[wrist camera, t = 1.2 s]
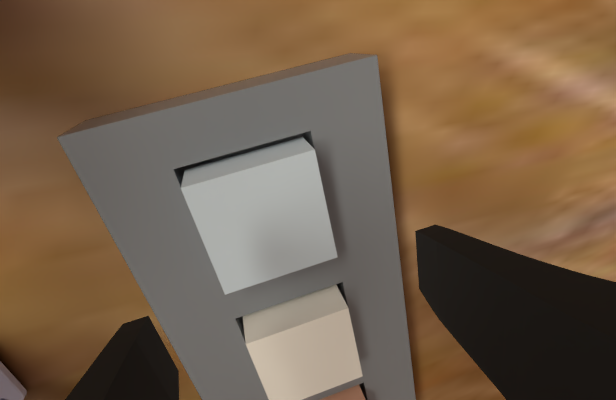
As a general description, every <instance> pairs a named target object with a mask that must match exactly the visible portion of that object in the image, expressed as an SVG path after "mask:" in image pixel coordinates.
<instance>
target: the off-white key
mask: <svg viewBox="0 0 616 400" xmlns="http://www.w3.org/2000/svg"><path fill="white" fill-rule="evenodd" d="M243 325H244V334H245V343H246V346H247V349H248V351H249V354H250V356H251V358H252V361H253V363H254V366H255V368H256V370H257V373H258V375H259V378H260V380H261V382H262V385H263V387H264V390H265V392H266V394H267V397H268V399H269V400H302V399H305V398H308V397H310V396H313V395H315V394H318V393H321V392H323V391H326V390H328V389H331V388H334V387H336V386H339V385H341V384H344V383H347V382H349V381H352V380H354V379H357V378H360V377H362V376H363V375H362V370H361V365H360V361H359V356H358V351H357V347H356V342H355V337H354V332H353V328H352V323H351V318H350V313H349V309H348V306H347V304H346V302H345V300H344V299H343V297H342V295H341V293H340V291H339V289H338V287H337V285H336V284H335V285H332V286H329V287H326V288H324V289H321V290H318V291H315V292H312V293H309V294H306V295H303V296H300V297H297V298H294V299H291V300H289V301H286V302H283V303H280V304H277V305H274V306H271V307H268V308H265V309H262V310H259V311H257V312H254V313H251V314H248V315H245V316H243Z"/></svg>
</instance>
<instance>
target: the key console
mask: <svg viewBox="0 0 616 400" xmlns="http://www.w3.org/2000/svg"><path fill="white" fill-rule="evenodd" d="M301 137H303V138H304V139H305V140H306V141H307V142H308V143H309V144H310V145H311V146H312V147H313V148H314V149H315V153H316V157H317V162H318V167H319V172H320V176H321V181H322V186H323V191H324V195H325V200H326V205H327V209H328V214H329V219H330V224H331V228H332V233H333V238H334V243H335V247H336V252H337V258H334V259H331V260H328V261H325V262H322V263H319V264H316V265H313V266H310V267H307V268H304V269H301V270H298V271H295V272H292V273H289V274H286V275H283V276H280V277H277V278H274V279H271V280H268V281H265V282H262V283H259V284H256V285H253V286H250V287H247V288H244V289H241V290H238V291H235V292H232V293H229V294H226V295H225V294H224V291H223V289H222V286H221V284H220V282H219V279H218V277H217V274H216V272H215V270H214V267H213V265H212V262H211V260H210V258H209V255H208V253H207V250H206V248H205V245H204V243H203V241H202V238H201V236H200V233H199V231H198V229H197V226H196V224H195V221H194V219H193V217H192V214H191V212H190V209H189V207H188V205H187V202H186V200H185V197H184V195H183V193H182V190H181V184H182V180H183V176H184V171H185V170H187V169H191V168H194V167H198V166H201V165H205V164H208V163H212V162H215V161H219V160H222V159H226V158H230V157H233V156H237V155H240V154H244V153H247V152H251V151H254V150H258V149H262V148H265V147H269V146H272V145H276V144H279V143H283V142H286V141H290V140H294V139H297V138H301ZM57 139H58V140H59V142H60V144H61V146H62V148H63V149H64V151H65V153H66V155H67V157H68V158H69V160H70V162H71V164H72V166H73V167H74V169H75V171H76V173H77V175H78V176H79V178H80V180H81V182H82V184H83V186H84V187H85V189H86V191H87V193H88V195H89V196H90V198H91V200H92V202H93V204H94V205H95V207H96V209H97V211H98V213H99V214H100V216H101V218H102V220H103V222H104V223H105V225H106V227H107V229H108V231H109V232H110V234H111V236H112V238H113V240H114V241H115V243H116V245H117V247H118V249H119V250H120V252H121V254H122V256H123V258H124V260H125V261H126V263H127V265H128V267H129V269H130V270H131V272H132V274H133V276H134V278H135V279H136V281H137V283H138V285H139V287H140V288H141V290H142V292H143V294H144V296H145V297H146V299H147V301H148V303H149V305H150V306H151V308H152V310H153V312H154V314H155V315H156V317H157V319H158V321H159V323H160V325H161V326H162V328H163V330H164V332H165V334H166V335H167V337H168V339H169V341H170V343H171V344H172V346H173V348H174V350H175V352H176V353H177V355H178V357H179V359H180V361H181V362H182V364H183V366H184V368H185V370H186V371H187V373H188V375H189V377H190V379H191V380H192V382H193V384H194V386H195V388H196V389H197V391H198V393H199V395H200V397H201V399H202V400H269V399H268V397H267V394H266V392H265V390H264V387H263V385H262V382H261V380H260V378H259V375H258V373H257V370H256V368H255V366H254V363H253V361H252V358H251V356H250V354H249V351H248V349H247V346H246V343H245V334H244V325H243V316H245V315H248V314H251V313H254V312H257V311H259V310H262V309H265V308H268V307H271V306H274V305H277V304H280V303H283V302H286V301H289V300H291V299H294V298H297V297H300V296H303V295H306V294H309V293H312V292H315V291H318V290H321V289H324V288H326V287H329V286H332V285H335V284H336V285H337V287H338V289H339V291H340V293H341V295H342V297H343V299H344V300H345V302H346V304H347V306H348V309H349V313H350V318H351V323H352V328H353V332H354V337H355V342H356V347H357V351H358V356H359V361H360V365H361V370H362V375H363V376H362V377H360V378H357V379H354V380H352V381H349V382H347V383H344V384H341V385H339V386H336V387H334V388H331V389H328V390H326V391H323V392H321V393H318V394H315V395H313V396H310V397H308V398H305V399H302V400H320V399H322V398H325V397H328V396H330V395H333V394H335V393H338V392H341V391H343V390H346V389H348V388H351V387H354V386H356V385H359V386H360V388H361V390H362V393H363V395H364V397H365V400H416V398H415V389H414V380H413V371H412V362H411V353H410V344H409V335H408V326H407V317H406V309H405V300H404V291H403V282H402V273H401V264H400V255H399V246H398V237H397V228H396V219H395V211H394V202H393V193H392V184H391V175H390V166H389V157H388V148H387V139H386V130H385V122H384V113H383V104H382V95H381V86H380V77H379V68H378V59H377V55H369V54H353V53H350V54H346V55H342V56H338V57H334V58H330V59H326V60H322V61H318V62H314V63H310V64H306V65H302V66H298V67H294V68H290V69H286V70H282V71H279V72H275V73H271V74H267V75H263V76H259V77H255V78H251V79H247V80H243V81H239V82H235V83H231V84H227V85H223V86H219V87H215V88H211V89H207V90H204V91H200V92H196V93H192V94H188V95H184V96H180V97H176V98H172V99H168V100H164V101H160V102H156V103H152V104H148V105H144V106H140V107H136V108H133V109H129V110H125V111H121V112H117V113H113V114H109V115H105V116H101V117H97V118H93V119H89V120H85V121H83V122H82V123H80V124H78V125H77V126H75V127H73V128H72V129H70V130H68V131H66V132H65V133H63V134H61V135H60V136H58V137H57Z"/></svg>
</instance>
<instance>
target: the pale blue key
mask: <svg viewBox="0 0 616 400" xmlns="http://www.w3.org/2000/svg"><path fill="white" fill-rule="evenodd" d="M181 190H182V193H183V195H184V197H185V200H186V202H187V205H188V207H189V209H190V212H191V214H192V217H193V219H194V221H195V224H196V226H197V229H198V231H199V233H200V236H201V238H202V241H203V243H204V245H205V248H206V250H207V253H208V255H209V258H210V260H211V262H212V265H213V267H214V270H215V272H216V274H217V277H218V279H219V282H220V284H221V286H222V289H223V291H224V294H225V295H226V294H229V293H232V292H235V291H238V290H241V289H244V288H247V287H250V286H253V285H256V284H259V283H262V282H265V281H268V280H271V279H274V278H277V277H280V276H283V275H286V274H289V273H292V272H295V271H298V270H301V269H304V268H307V267H310V266H313V265H316V264H319V263H322V262H325V261H328V260H331V259H334V258H337V252H336V247H335V243H334V238H333V233H332V228H331V224H330V219H329V214H328V209H327V205H326V200H325V195H324V191H323V186H322V181H321V176H320V172H319V167H318V162H317V157H316V153H315V149H314V148H313V147H312V146H311V145H310V144H309V143H308V142H307V141H306V140H305V139H304V138H303V137H301V138H297V139H294V140H290V141H286V142H283V143H279V144H276V145H272V146H269V147H265V148H262V149H258V150H254V151H251V152H247V153H244V154H240V155H237V156H233V157H230V158H226V159H222V160H219V161H215V162H212V163H208V164H205V165H201V166H198V167H194V168H191V169H187V170H185V171H184V176H183V180H182V184H181Z"/></svg>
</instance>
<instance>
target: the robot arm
mask: <svg viewBox="0 0 616 400" xmlns="http://www.w3.org/2000/svg"><path fill="white" fill-rule="evenodd" d="M415 232H416V247H417V262H418V277H419V289H420V290H421V292H422V294H423V295H424V297H425V298H426V300H427V302H428V303H429V305H430V306H431V308H432V309H433V311H434V312H435V314H436V315H437V317H438V318H439V320H440V321H441V322H442V323H443V325H444V326H445V327H446V328H447V329H448V331H449V332H450V333H451V334H452V335H453V337H454V338H455V339H456V340H457V341H458V343H459V344H460V345H461V346H462V347H463V348H464V350H465V351H466V352H467V353H468V354H469V356H470V357H471V358H472V359H473V360H474V361H475V363H476V364H477V365H478V366H479V367H480V369H481V370H482V371H483V372H484V373H485V374H486V376H487V377H488V378H489V379H490V380H491V381H492V383H493V384H494V385H495V386H496V387H497V389H498V390H499V391H500V392H501V393H502V395H503V396H504V397H505V399H506V400H616V282H613V281H609V280H605V279H601V278H596V277H592V276H589V275H585V274H582V273H578V272H574V271H571V270H568V269H564V268H561V267H558V266H555V265H551V264H548V263H545V262H542V261H538V260H535V259H532V258H529V257H526V256H523V255H520V254H517V253H515V252H512V251H509V250H506V249H503V248H500V247H498V246H495V245H492V244H489V243H487V242H484V241H481V240H478V239H476V238H473V237H470V236H468V235H465V234H462V233H459V232H457V231H454V230H451V229H448V228H445V227H442V226H438V225H433V226H430V227H427V228H424V229H420V230H417V231H415ZM26 394H27V391H26V389H25V388H24V387H23V386H22V385H21V384H20V382H19V381H18V380H17V379H16V378H15V377H14V376H13V375H12V374H11V372H10V371H9V370H8V369H7V368H6V367H5V366H4V365H3V364H2V362H1V361H0V400H24V398H25V396H26ZM65 400H179V375H178V369H177V368H176V366H175V364H174V362H173V360H172V358H171V356H170V355H169V353H168V351H167V349H166V347H165V345H164V344H163V342H162V340H161V338H160V336H159V334H158V333H157V331H156V329H155V327H154V325H153V323H152V322H151V320H150V318H149V316H147V317H143V318H140V319H137V320H134V321H131V322H128V323H125V324H123V325H122V326H121V327H120V328H119V330H118V331H117V332H116V333H115V335H114V336H113V337H112V339H111V340H110V341H109V342H108V344H107V345H106V346H105V348H104V349H103V350H102V352H101V353H100V354H99V356H98V357H97V358H96V360H95V361H94V362H93V364H92V365H91V366H90V368H89V369H88V371H87V372H86V373H85V374H84V376H83V377H82V378H81V380H80V381H79V382H78V384H77V385H76V386H75V388H74V389H73V390H72V392H71V393H70V394H69V395H68V397H67V398H66V399H65Z"/></svg>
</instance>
